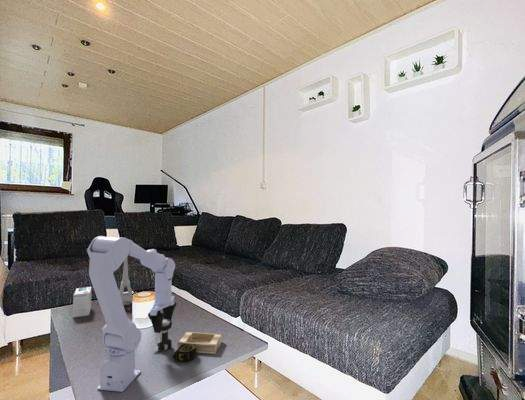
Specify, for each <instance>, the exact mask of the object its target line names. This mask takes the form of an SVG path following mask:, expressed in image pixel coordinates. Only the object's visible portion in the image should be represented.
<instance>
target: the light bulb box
mask: <svg viewBox="0 0 525 400" xmlns="http://www.w3.org/2000/svg"><path fill="white" fill-rule="evenodd" d="M72 295H73V296H72V297H73V298H72V299H73V301H72V318H78V317H86V316H89V315H90V313H91V308H92V286H86V287H85V286H84V287H78V288H77V287H76V288H75V291H74V292H73V294H72Z"/></svg>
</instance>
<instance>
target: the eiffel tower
mask: <svg viewBox="0 0 525 400" xmlns="http://www.w3.org/2000/svg"><path fill="white" fill-rule="evenodd" d="M128 261H129V260H128V257H127V258H126V259H125V260H124V261H123V272H122V280H121V281H120V287H119V289H118V290H119V293H120V296H121V300H122V303H123V302H125V301H126V302H131V303H132V294H133V293H134V294H135V292H134V291H133V290H132V288H131V281H130V277H129V266H128ZM125 287H127V291H124V290H125Z"/></svg>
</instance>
